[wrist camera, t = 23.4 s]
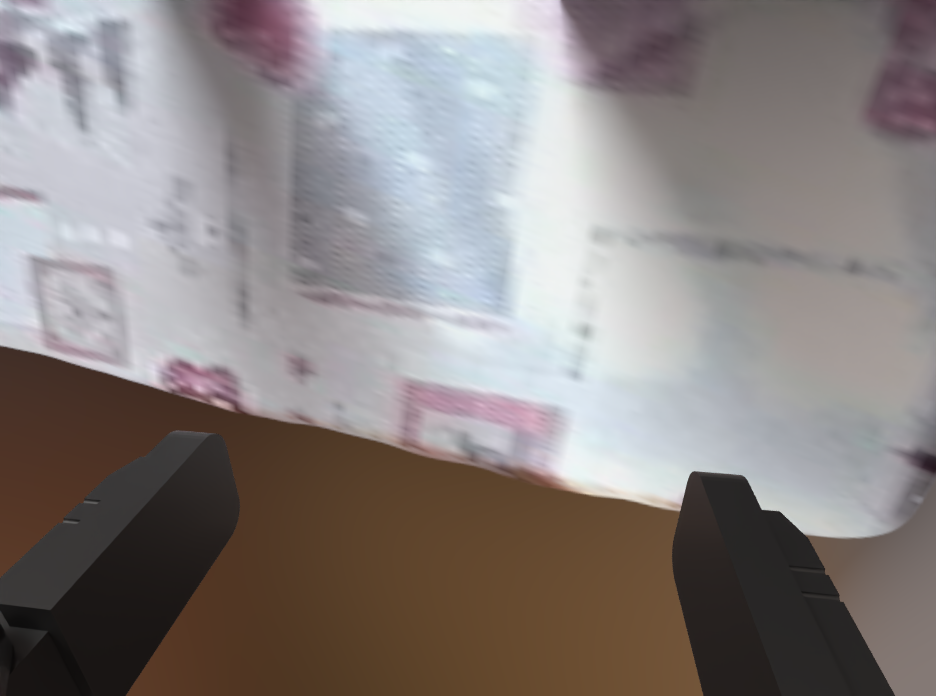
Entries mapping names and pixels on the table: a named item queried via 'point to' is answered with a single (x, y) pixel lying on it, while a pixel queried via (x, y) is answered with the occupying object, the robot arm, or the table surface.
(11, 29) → the table surface
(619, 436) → the table surface
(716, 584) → the robot arm
